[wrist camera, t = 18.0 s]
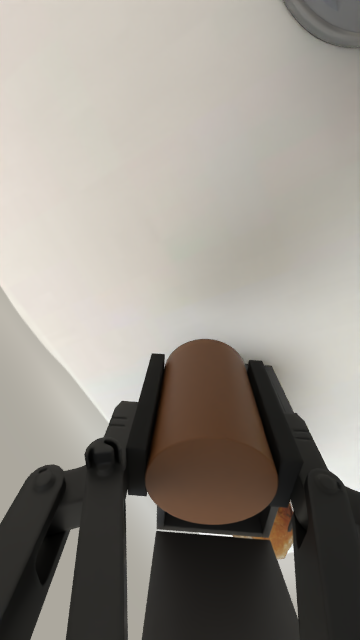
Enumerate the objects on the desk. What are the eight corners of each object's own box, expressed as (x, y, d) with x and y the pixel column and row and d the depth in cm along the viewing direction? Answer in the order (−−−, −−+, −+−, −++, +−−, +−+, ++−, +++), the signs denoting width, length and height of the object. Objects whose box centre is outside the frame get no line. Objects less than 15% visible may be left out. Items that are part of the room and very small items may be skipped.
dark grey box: (168, 359, 31) (158, 422, 22) (271, 365, 31) (303, 432, 22) (165, 451, 38) (156, 529, 29) (250, 457, 37) (268, 538, 29)
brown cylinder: (159, 340, 15) (134, 439, 9) (246, 336, 15) (283, 435, 9) (168, 407, 18) (153, 525, 11) (245, 404, 17) (275, 525, 11)
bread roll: (222, 494, 47) (223, 555, 41) (236, 485, 39) (239, 558, 34) (278, 500, 47) (286, 562, 41) (303, 492, 39) (317, 567, 34)
